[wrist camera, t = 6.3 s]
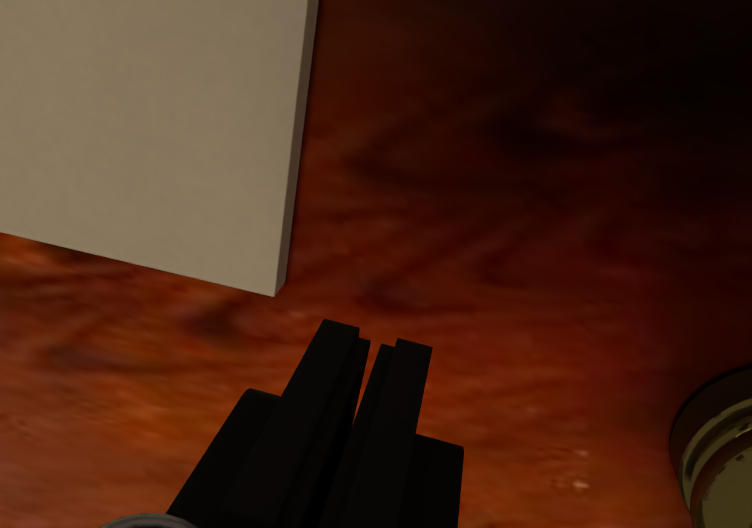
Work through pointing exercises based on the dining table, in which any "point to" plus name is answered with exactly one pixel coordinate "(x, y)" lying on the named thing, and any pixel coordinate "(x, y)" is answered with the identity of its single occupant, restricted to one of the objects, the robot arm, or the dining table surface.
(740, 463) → the brass cabinet knob
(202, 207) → the white base plate
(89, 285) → the dining table surface
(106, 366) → the dining table surface
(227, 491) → the robot arm
